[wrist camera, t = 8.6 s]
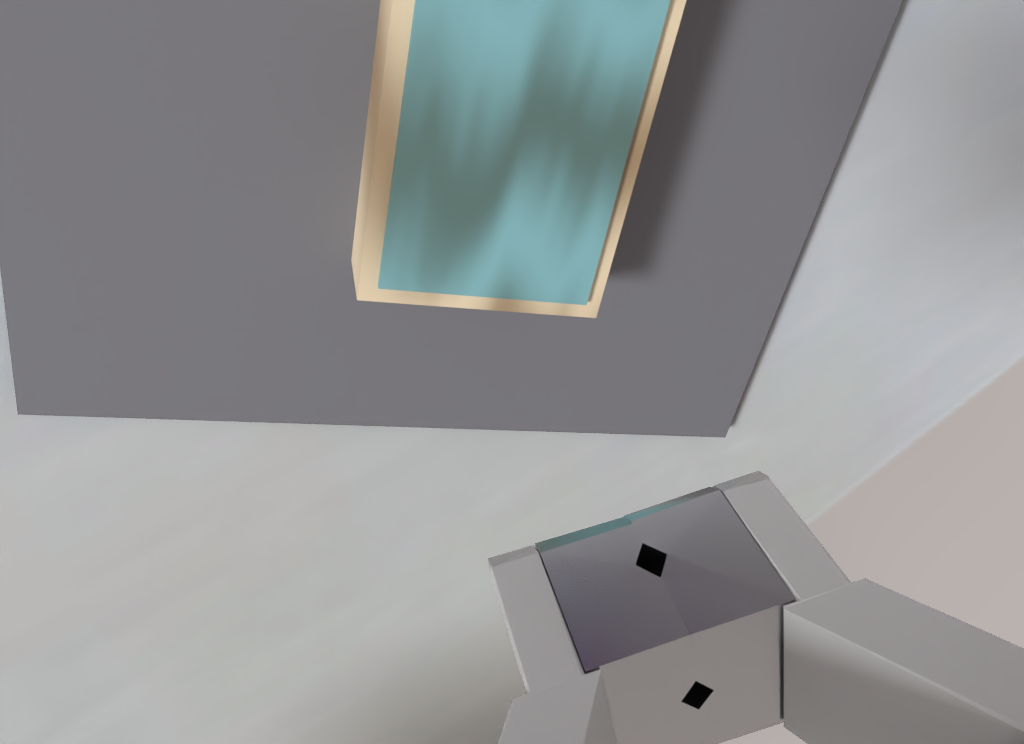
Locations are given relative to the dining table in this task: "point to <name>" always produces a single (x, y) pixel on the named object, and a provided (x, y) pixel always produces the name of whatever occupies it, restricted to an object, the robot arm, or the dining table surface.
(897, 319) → the dining table surface
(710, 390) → the rubber mat
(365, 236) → the birch tile
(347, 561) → the dining table surface
